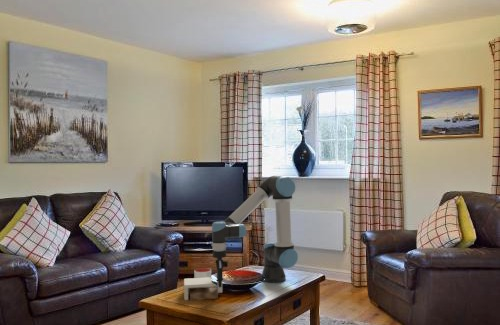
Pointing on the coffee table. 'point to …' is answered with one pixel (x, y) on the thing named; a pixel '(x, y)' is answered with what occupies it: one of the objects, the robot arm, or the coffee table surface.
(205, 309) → the coffee table surface
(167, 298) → the coffee table surface
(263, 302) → the coffee table surface
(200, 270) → the cup
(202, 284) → the shelf
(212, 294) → the board
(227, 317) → the coffee table surface
